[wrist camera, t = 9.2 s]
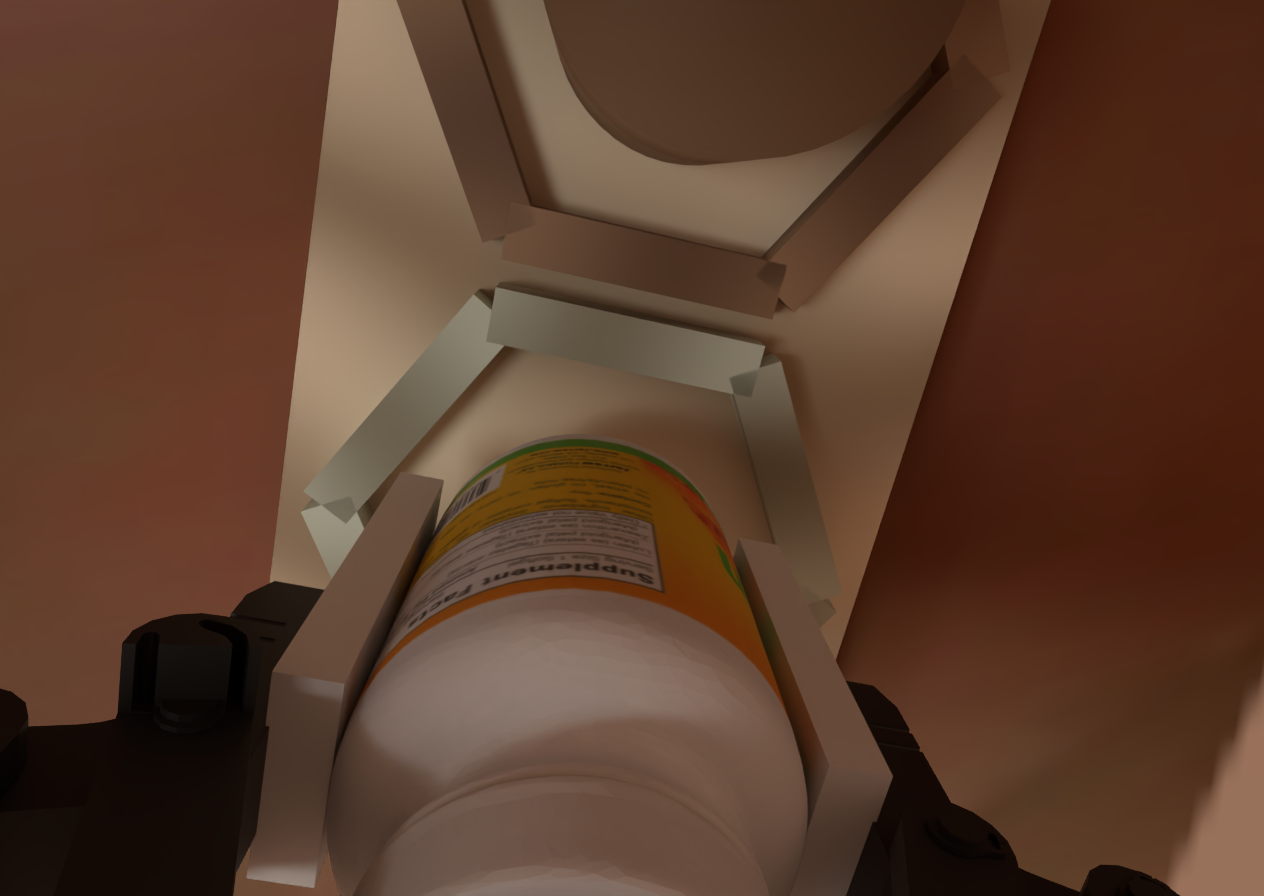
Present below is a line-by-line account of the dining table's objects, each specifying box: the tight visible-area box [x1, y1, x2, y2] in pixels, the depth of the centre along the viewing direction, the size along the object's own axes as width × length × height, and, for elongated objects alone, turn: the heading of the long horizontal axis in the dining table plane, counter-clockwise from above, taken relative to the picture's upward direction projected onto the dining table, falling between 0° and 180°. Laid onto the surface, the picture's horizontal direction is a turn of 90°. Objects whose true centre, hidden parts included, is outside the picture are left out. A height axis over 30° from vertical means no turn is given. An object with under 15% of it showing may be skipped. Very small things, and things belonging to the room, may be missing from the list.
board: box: [270, 0, 1051, 661], centre depth 17 cm, size 22×12×2 cm, turn 167°
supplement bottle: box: [327, 434, 808, 896], centre depth 12 cm, size 5×5×10 cm
